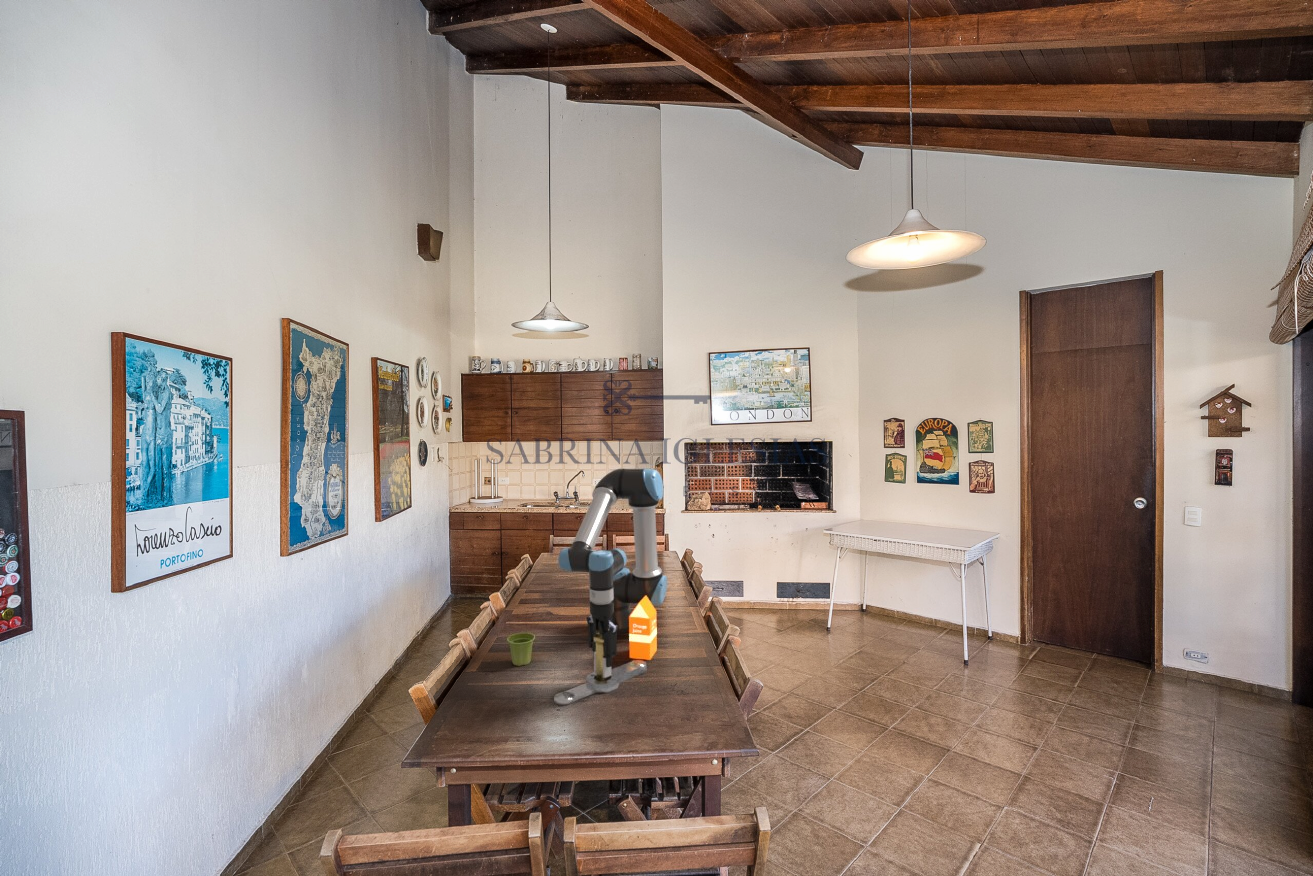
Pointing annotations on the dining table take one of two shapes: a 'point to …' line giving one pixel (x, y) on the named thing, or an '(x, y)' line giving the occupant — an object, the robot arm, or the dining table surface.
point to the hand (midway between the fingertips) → (602, 673)
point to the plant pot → (521, 647)
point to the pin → (599, 658)
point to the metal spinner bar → (601, 682)
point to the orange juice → (643, 630)
